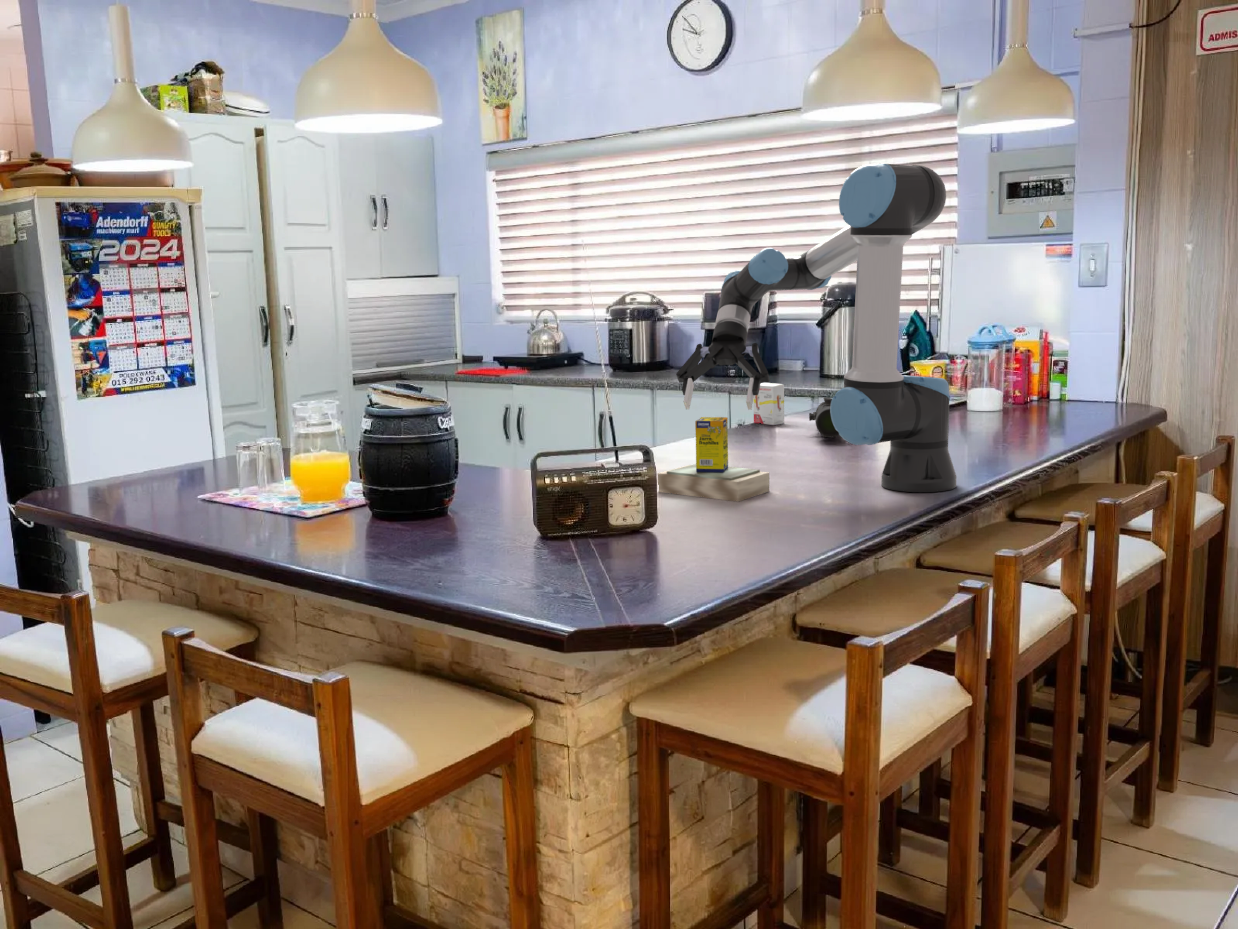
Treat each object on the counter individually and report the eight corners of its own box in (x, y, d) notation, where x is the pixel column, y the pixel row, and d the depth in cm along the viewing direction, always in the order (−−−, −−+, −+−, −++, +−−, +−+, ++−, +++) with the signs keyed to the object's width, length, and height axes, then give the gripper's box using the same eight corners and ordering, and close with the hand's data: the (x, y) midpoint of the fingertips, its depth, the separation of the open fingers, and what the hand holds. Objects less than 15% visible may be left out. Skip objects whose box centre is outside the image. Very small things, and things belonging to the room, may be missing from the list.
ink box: (752, 423, 336) (752, 383, 334) (764, 421, 339) (763, 382, 337) (773, 425, 330) (773, 385, 328) (785, 423, 333) (784, 384, 331)
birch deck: (769, 491, 233) (769, 470, 232) (738, 501, 224) (737, 479, 223) (690, 482, 245) (690, 462, 245) (658, 491, 236) (657, 471, 235)
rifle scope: (845, 428, 320) (845, 393, 318) (851, 441, 294) (851, 404, 293) (808, 428, 321) (807, 393, 320) (810, 442, 296) (810, 404, 294)
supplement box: (724, 473, 230) (723, 420, 228) (695, 472, 232) (694, 420, 230) (728, 468, 236) (728, 416, 234) (701, 467, 238) (700, 416, 236)
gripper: (788, 340, 248) (777, 416, 237) (680, 342, 256) (664, 416, 245) (784, 317, 243) (773, 394, 231) (673, 320, 250) (657, 394, 239)
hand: (717, 405), depth 238 cm, fingers open, 13 cm apart
